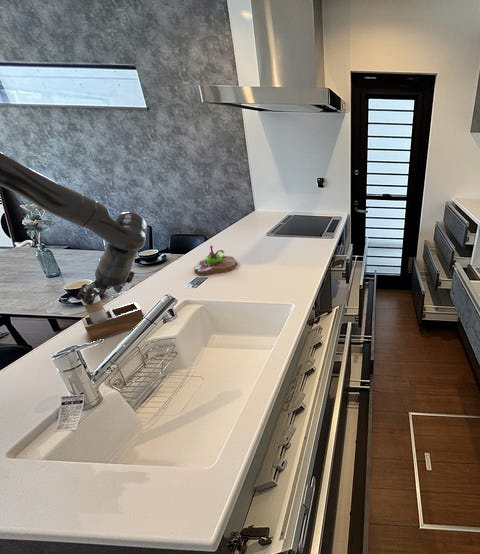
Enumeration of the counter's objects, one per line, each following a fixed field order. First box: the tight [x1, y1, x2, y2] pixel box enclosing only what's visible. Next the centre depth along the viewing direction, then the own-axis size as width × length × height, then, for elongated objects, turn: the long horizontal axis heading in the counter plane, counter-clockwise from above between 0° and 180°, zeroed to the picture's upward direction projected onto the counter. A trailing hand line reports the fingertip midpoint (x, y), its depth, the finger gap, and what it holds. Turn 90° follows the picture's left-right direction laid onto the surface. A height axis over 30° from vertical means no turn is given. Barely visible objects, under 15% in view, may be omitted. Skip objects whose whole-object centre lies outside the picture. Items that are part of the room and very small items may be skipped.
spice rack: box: [81, 301, 145, 343], centre depth 106 cm, size 8×15×6 cm, turn 137°
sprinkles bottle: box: [80, 293, 109, 324], centre depth 102 cm, size 5×5×13 cm
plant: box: [193, 245, 238, 276], centre depth 156 cm, size 20×20×11 cm
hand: (102, 296), depth 97 cm, fingers open, 8 cm apart
